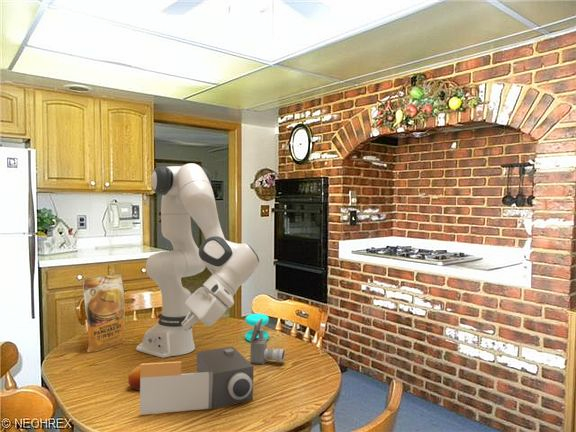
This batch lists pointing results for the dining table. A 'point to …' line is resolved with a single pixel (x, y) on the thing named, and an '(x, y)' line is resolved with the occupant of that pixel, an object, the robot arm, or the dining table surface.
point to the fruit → (134, 378)
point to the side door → (173, 388)
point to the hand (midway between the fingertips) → (183, 327)
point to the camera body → (227, 375)
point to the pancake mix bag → (104, 311)
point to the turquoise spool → (252, 320)
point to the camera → (263, 347)
